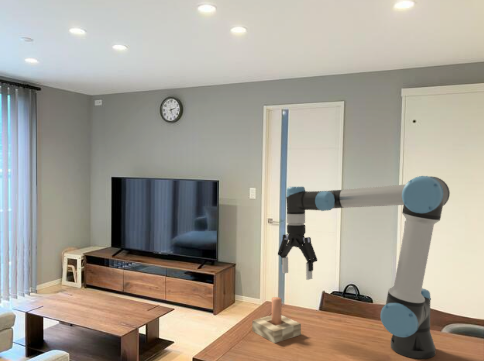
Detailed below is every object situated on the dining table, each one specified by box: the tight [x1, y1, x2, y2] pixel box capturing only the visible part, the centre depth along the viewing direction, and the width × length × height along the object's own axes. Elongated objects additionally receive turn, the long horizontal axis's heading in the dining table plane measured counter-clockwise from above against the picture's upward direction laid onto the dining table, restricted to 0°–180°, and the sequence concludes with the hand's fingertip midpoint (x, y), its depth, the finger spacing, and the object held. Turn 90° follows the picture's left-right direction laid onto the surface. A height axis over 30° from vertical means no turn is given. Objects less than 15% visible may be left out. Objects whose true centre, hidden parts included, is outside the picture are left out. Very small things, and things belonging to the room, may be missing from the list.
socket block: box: [251, 314, 302, 344], centre depth 155 cm, size 14×14×4 cm
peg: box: [271, 296, 283, 326], centre depth 155 cm, size 4×4×14 cm
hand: (296, 276), depth 156 cm, fingers open, 13 cm apart
